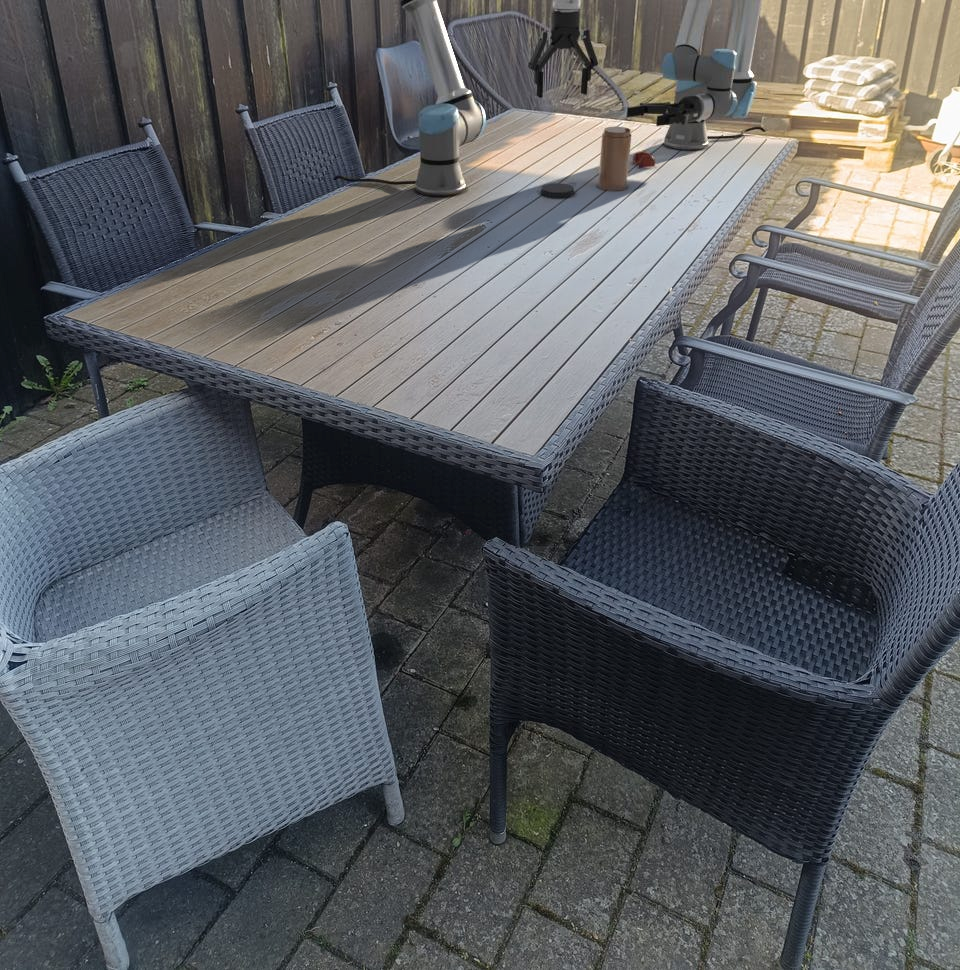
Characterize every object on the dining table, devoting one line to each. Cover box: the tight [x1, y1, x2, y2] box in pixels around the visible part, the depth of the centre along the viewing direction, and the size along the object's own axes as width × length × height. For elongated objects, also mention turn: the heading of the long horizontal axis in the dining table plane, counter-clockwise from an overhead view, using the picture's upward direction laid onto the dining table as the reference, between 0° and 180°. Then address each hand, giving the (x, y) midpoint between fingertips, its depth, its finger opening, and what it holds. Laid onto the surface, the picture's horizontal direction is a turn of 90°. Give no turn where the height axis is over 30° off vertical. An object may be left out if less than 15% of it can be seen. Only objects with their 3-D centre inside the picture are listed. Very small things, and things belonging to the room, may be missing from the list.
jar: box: [597, 126, 632, 192], centre depth 256 cm, size 9×9×17 cm
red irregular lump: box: [632, 150, 656, 168], centre depth 280 cm, size 6×4×8 cm
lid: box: [540, 182, 575, 199], centre depth 255 cm, size 10×10×2 cm
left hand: (561, 95), depth 240 cm, fingers open, 13 cm apart
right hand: (642, 116), depth 254 cm, fingers open, 13 cm apart
